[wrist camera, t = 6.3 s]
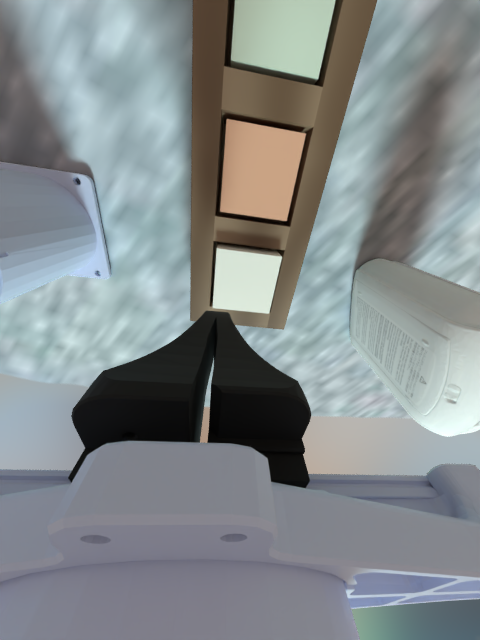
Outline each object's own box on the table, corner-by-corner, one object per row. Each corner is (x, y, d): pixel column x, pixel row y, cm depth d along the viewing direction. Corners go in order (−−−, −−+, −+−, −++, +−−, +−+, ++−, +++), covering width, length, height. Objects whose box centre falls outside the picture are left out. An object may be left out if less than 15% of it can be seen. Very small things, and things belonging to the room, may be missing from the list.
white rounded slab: (382, 339, 24) (502, 449, 13) (346, 346, 24) (433, 458, 14) (396, 252, 19) (607, 318, 8) (349, 263, 19) (493, 339, 9)
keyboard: (198, 298, 21) (190, 320, 17) (218, -433, 7) (202, -1194, 3) (274, 306, 21) (283, 329, 18) (430, -340, 8) (624, -870, 4)
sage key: (231, 80, 11) (230, 59, 10) (241, -58, 9) (243, -118, 8) (305, 96, 12) (318, 78, 10) (332, -34, 10) (354, -84, 8)
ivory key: (214, 297, 17) (212, 308, 15) (218, 242, 15) (216, 248, 13) (265, 302, 18) (269, 313, 16) (276, 250, 15) (282, 256, 14)
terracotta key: (221, 210, 15) (220, 211, 13) (227, 130, 13) (226, 118, 11) (280, 218, 15) (286, 221, 13) (296, 142, 13) (306, 133, 11)
